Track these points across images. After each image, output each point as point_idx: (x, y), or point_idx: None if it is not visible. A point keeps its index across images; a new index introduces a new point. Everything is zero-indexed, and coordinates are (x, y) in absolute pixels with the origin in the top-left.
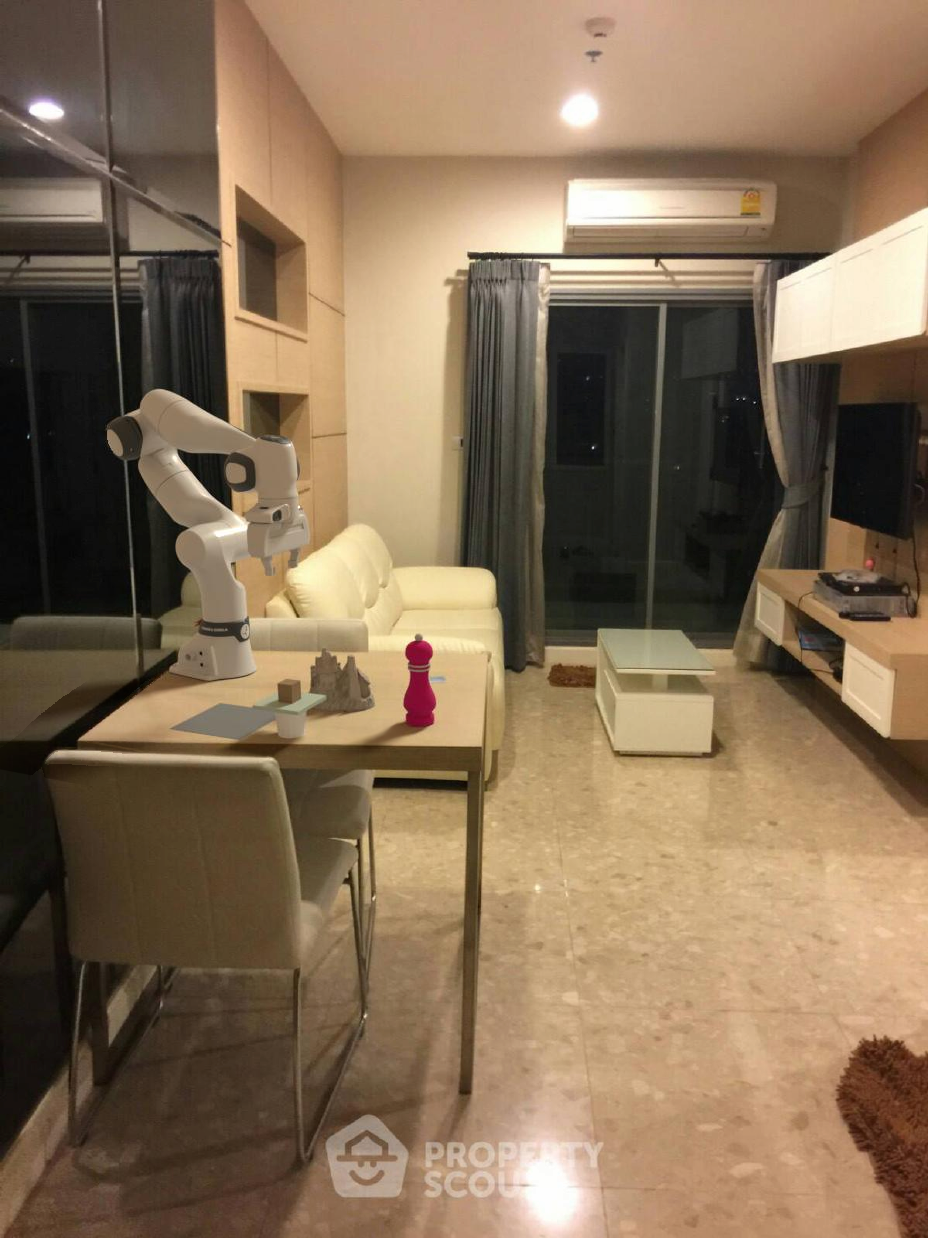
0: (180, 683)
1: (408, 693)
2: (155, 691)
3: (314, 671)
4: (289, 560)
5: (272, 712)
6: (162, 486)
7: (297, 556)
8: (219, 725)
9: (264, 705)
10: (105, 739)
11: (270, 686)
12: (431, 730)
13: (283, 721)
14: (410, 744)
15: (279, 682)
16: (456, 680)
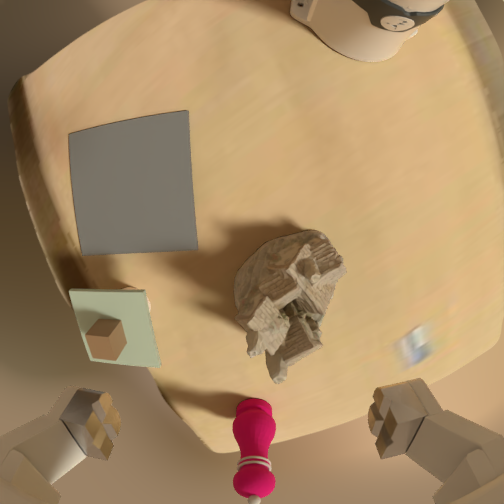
0: None
1: (238, 434)
2: None
3: (283, 275)
4: (402, 428)
5: (185, 228)
6: None
7: (426, 469)
8: (104, 189)
9: (77, 308)
10: (29, 94)
11: (317, 130)
12: None
13: None
14: (187, 420)
15: (89, 336)
16: (416, 374)
